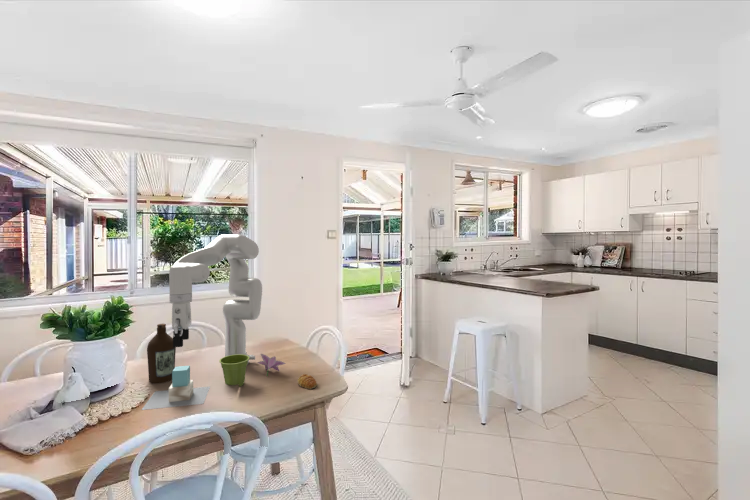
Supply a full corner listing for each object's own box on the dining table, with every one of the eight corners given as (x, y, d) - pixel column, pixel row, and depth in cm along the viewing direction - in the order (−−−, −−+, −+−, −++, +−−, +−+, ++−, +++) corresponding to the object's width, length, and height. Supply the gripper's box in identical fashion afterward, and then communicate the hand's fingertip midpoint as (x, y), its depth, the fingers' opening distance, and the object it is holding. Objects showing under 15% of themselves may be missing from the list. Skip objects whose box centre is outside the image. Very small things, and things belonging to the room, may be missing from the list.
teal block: (190, 380, 143) (190, 365, 143) (187, 385, 138) (187, 370, 138) (175, 382, 142) (175, 366, 142) (172, 387, 137) (172, 371, 137)
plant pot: (219, 382, 159) (219, 356, 158) (248, 378, 163) (248, 353, 163) (219, 392, 148) (219, 365, 148) (250, 388, 153) (250, 361, 152)
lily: (287, 377, 168) (289, 355, 172) (268, 374, 159) (270, 351, 164) (269, 380, 174) (271, 359, 178) (249, 377, 165) (251, 355, 169)
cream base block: (193, 392, 144) (193, 379, 144) (189, 400, 138) (189, 386, 138) (173, 394, 143) (173, 381, 142) (168, 402, 136) (168, 388, 136)
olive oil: (143, 382, 157) (143, 324, 156) (170, 375, 165) (170, 320, 164) (152, 389, 150) (152, 328, 149) (180, 382, 158) (179, 324, 157)
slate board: (210, 390, 150) (210, 386, 150) (203, 407, 135) (203, 403, 135) (155, 395, 145) (155, 391, 145) (141, 414, 130) (141, 409, 130)
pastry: (321, 387, 155) (321, 378, 155) (307, 391, 151) (307, 382, 151) (309, 380, 162) (309, 372, 162) (295, 384, 158) (295, 375, 158)
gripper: (186, 301, 132) (187, 349, 132) (196, 294, 148) (196, 336, 149) (163, 302, 129) (163, 350, 130) (175, 294, 146) (175, 337, 147)
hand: (181, 343), depth 140 cm, fingers open, 9 cm apart
